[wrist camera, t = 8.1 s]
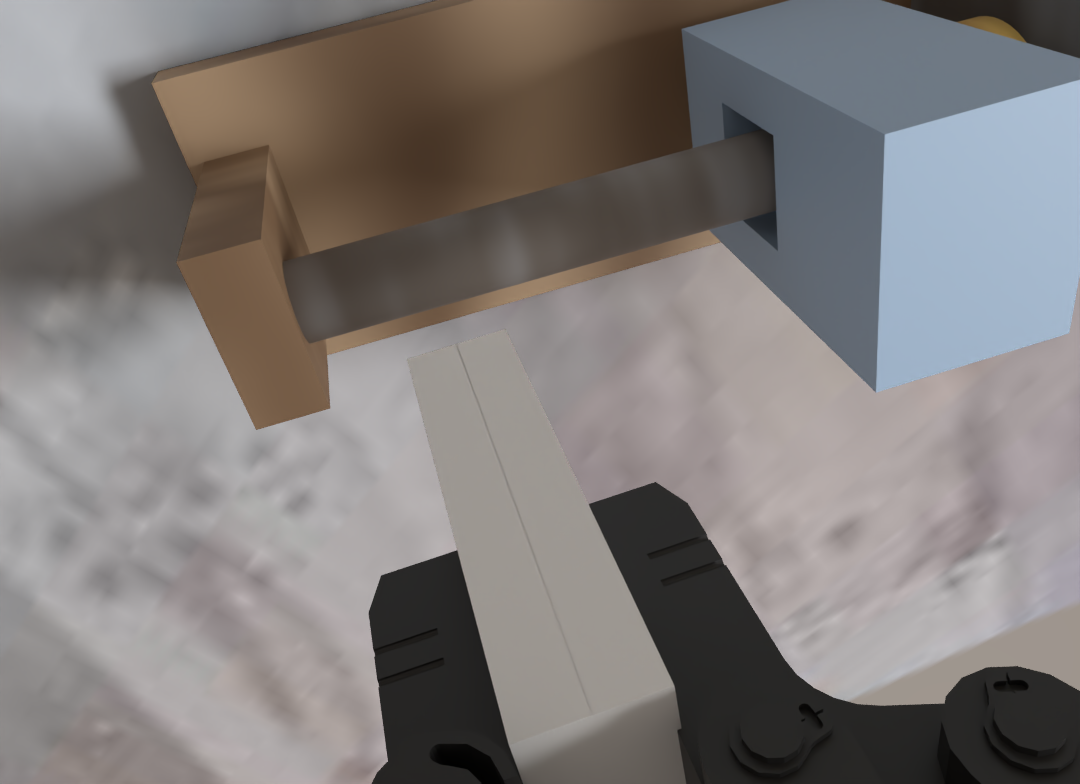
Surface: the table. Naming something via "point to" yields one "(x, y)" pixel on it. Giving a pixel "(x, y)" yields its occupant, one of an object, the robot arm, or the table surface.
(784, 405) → the table surface
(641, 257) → the sliding block fixture
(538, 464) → the robot arm
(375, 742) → the table surface
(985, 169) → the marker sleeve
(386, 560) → the table surface
